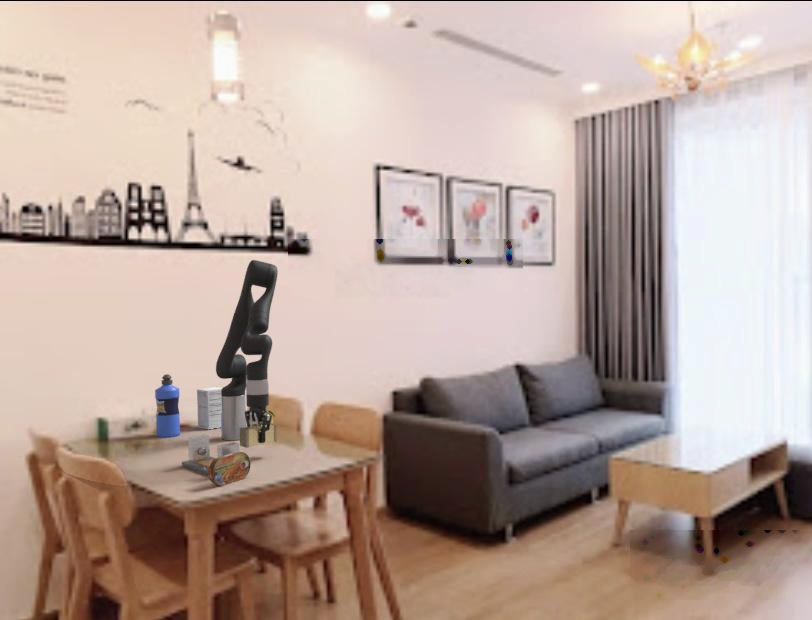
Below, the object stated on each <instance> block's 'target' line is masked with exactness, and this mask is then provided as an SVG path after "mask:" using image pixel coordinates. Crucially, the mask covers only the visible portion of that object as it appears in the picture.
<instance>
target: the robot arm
mask: <svg viewBox="0 0 812 620" xmlns="http://www.w3.org/2000/svg"><path fill="white" fill-rule="evenodd" d="M278 272H279V271H278V267H277V265H274V264H272V263H270V262H269V263H268V262H265V261H260V260H257V259H251V260H250V262H249V263H248V265H247V268H246V272H245V274H244V280H243V284H242V287H241V291H240V295H239V298H238V302H237V304H236V306H235V309H234V313H233V317H232V318H231V322H230V326H229V330H228V333H227V335H226V337H225V338H226V339H225V341H224V344H223V346H222V348H221V349H220V350H221V351H220V353H219V354H218V355H219V356H218V358H217V361H216V363H215V365H216V366H215V373H216V376H217V377H218V378H220V379H222V380H224V379H225V380H226V379H227V380H228V379H231V381H230V382H229V384H227V385H226V386H224V387H221V388H222V390H221V403H222V414H221V428H220V429H221V431H220V432H221V438H222V440H223V439H224V441H240V428H245V427H251V426H256V425H257V426H258V430H259V443H264V442H265V432H266V431H267V430H269V429H270V423H271V418H273V415H272V414H271V413H270V414H269V415H268V414H267V412H268V410H267V407H268V406H269V405H270V401H269V400H270V399H269V398H270V397H269V396H270V395H269V394H270V392H269V391H270V390H269V389H270V388H269V381H268V378H269V377H268V368H269V367H268V366H269V359H270V355H271V352H272V349H273V340H272V338H271V336H270V335H269V334H265V333H267V332H268V330H269V323H270V313H271V312H270V311H271V306H272V302H273V299H274V294H275V289H276V285H277V281H278ZM253 286H255V287H259V288H265V290H264V292H263V294H262V295H261V296H260V297H259V298H258V299H256V301H254V297H253V294H252V293H253V292H252V287H253ZM239 350H240V351H241V353H243V354H241V353H239V354H237V352H238V351H239ZM244 355H246V356H261V357H260V359H258V360H257V361H256V360H255V361H251V362H248V363H247V360H246V358H245V356H244ZM246 407H248V408H249V409H248V410H246ZM260 422H263V423H260ZM261 425H262V428H261ZM266 425H267V427H266Z"/></svg>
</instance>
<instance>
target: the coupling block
mask: <svg viewBox="0 0 812 620" xmlns="http://www.w3.org/2000/svg"><path fill="white" fill-rule="evenodd" d="M266 427H267V425H266ZM261 428H262V425H261ZM271 443H277V424H276V423H273V424H272V423H270V429H269V430H267V431H266V432H265V442H264V443H259V430H258V426H257V425H256V426H251V427H247V426H246V427H245V428H240V440H239V447H244V448H247V449H248V448H251V447H256V446H257V447H258V446H261V445H267V444H271Z"/></svg>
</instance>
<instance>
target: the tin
mask: <svg viewBox="0 0 812 620" xmlns="http://www.w3.org/2000/svg"><path fill="white" fill-rule="evenodd" d="M215 458H216V459H214V460H213V461H212V462H211V464H210V466H209V476H208V478H209V479H208V480H209V481H210V482H211V483H212V484H214V485H216V486H221V487H223V486H227V485H230V484H233V483H235V482H238V480H239V481H242V480H244V479H245V478H247V476H248V475H249V473H250V470H251V466H252V465H251V459H250V457H249V455H248V454H247V453H246V452H244V451H239V452H235V453H231V454H228V455H225V456H222V457H218V458H217V457H215ZM232 482H233V483H232Z"/></svg>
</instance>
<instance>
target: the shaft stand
mask: <svg viewBox="0 0 812 620" xmlns="http://www.w3.org/2000/svg"><path fill="white" fill-rule="evenodd" d="M187 442H188V443H187V444H188V460H184V461H181V467H183V468H187V469H189V470H192V471H195V472H197V473H200V474H202V475H203V474H204V475H205V474H206V476H208V475H209V466H210V464H211V462H212V461H213V460H214V459H216V458H218V457H222V456H225V455H228V454H231V453H235V452H240V443H238V442H229V443H224V444H218V445H216V448H217V449H216V450H217V451H216V454H217V455H216V456H217V457H214V456H210V455H211V454H210V453H211V452H210V451H211V450H210V449H211V447H210V435H208V434H201V435H200V434H198V435H195V436H194V435H193V436H188V441H187Z"/></svg>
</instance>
